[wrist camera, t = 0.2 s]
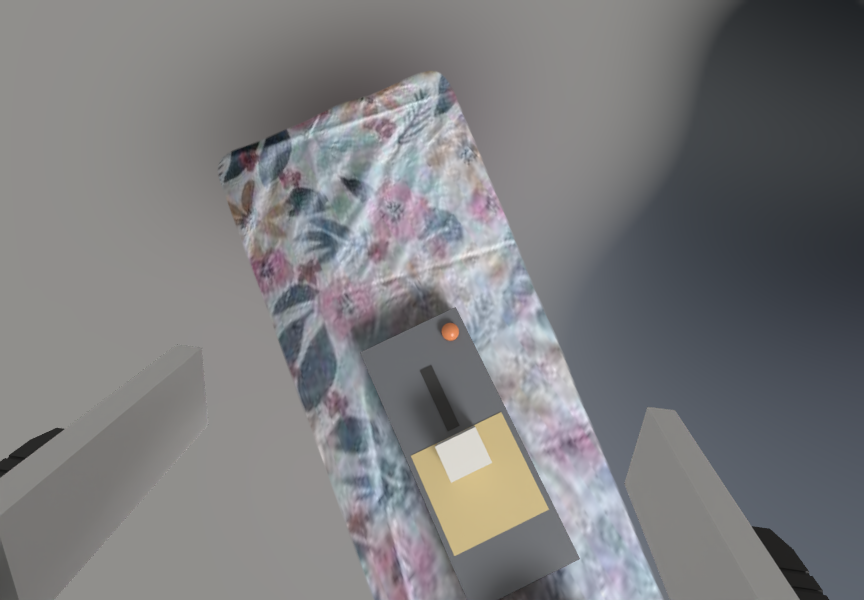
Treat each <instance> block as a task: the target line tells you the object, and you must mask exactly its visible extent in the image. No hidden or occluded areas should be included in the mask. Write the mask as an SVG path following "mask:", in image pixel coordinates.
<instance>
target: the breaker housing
mask: <svg viewBox="0 0 864 600" xmlns="http://www.w3.org/2000/svg"><path fill="white" fill-rule="evenodd" d="M360 354H361V356H362V358H363V361H364V363H365V365H366V367H367V370H368V372H369V374H370V377H371V379H372V381H373V384H374V386H375V388H376V391H377V393H378V395H379V398H380V400H381V402H382V404H383V407H384V409H385V411H386V414H387V416H388V418H389V421H390V423H391V425H392V428H393V430H394V432H395V434H396V437H397V439H398V441H399V444H400V446H401V448H402V451H403V453H404V455H405V458H406V460H407V462H408V464H409V467H410V469H411V471H412V474H413V476H414V478H415V481H416V483H417V485H418V488H419V490H420V492H421V494H422V497H423V499H424V501H425V504H426V506H427V508H428V511H429V513H430V515H431V518H432V520H433V522H434V524H435V527H436V529H437V531H438V534H439V536H440V538H441V541H442V543H443V545H444V548H445V550H446V552H447V555H448V557H449V559H450V561H451V564H452V566H453V568H454V571H455V573H456V575H457V578H458V580H459V582H460V585H461V587H462V589H463V591H464V594H465V596H466V598H467V600H499V599H501V598H503V597H505V596H507V595H509V594H511V593H513V592H515V591H517V590H519V589H521V588H523V587H525V586H527V585H529V584H531V583H533V582H535V581H537V580H539V579H541V578H543V577H545V576H547V575H549V574H551V573H553V572H555V571H557V570H559V569H561V568H563V567H565V566H567V565H569V564H571V563H573V562H575V561H577V560H579V559H580V558H579V556H578V554H577V552H576V550H575V548H574V546H573V544H572V542H571V540H570V538H569V536H568V534H567V532H566V530H565V528H564V526H563V524H562V522H561V520H560V518H559V516H558V514H557V512H556V509H555V507H554V505H553V503H552V501H551V499H550V497H549V495H548V493H547V491H546V489H545V487H544V485H543V483H542V481H541V479H540V477H539V475H538V473H537V471H536V469H535V467H534V465H533V463H532V461H531V459H530V457H529V455H528V453H527V451H526V449H525V447H524V445H523V443H522V441H521V439H520V437H519V435H518V433H517V431H516V428H515V426H514V424H513V422H512V420H511V418H510V416H509V414H508V412H507V410H506V408H505V406H504V404H503V402H502V400H501V398H500V396H499V394H498V392H497V390H496V388H495V386H494V384H493V382H492V380H491V378H490V376H489V374H488V372H487V370H486V368H485V366H484V364H483V362H482V360H481V358H480V356H479V354H478V352H477V350H476V348H475V345H474V343H473V341H472V339H471V337H470V335H469V333H468V331H467V329H466V327H465V325H464V323H463V321H462V319H461V317H460V315H459V313H458V311H457V309H456V307H455V308H453V309H451V310H448V311H446V312H444V313H442V314H440V315H438V316H436V317H434V318H432V319H430V320H427V321H425V322H423V323H421V324H419V325H417V326H415V327H413V328H411V329H408V330H406V331H404V332H402V333H400V334H398V335H396V336H394V337H392V338H389V339H387V340H385V341H383V342H381V343H379V344H377V345H375V346H373V347H371V348H368V349H366V350H364V351H362V352H360ZM472 426H475V427H476V429H477V431H478V434H479V436H480V438H481V440H482V442H483V444H484V446H485V448H486V450H487V453H488V455H489V457H490V459H491V461H492V463H491V464H489V465H487V466H485V467H482V468H480V469H478V470H476V471H474V472H472V473H470V474H468V475H466V476H464V477H462V478H460V479H458V480H456V481H454V482H452V483H451V482H450V479H449V477H448V475H447V473H446V470H445V468H444V466H443V464H442V462H441V459H440V457H439V455H438V453H437V450H436V448H435V446H436V445H437V443H439V442H441V441H443V440H445V439H447V438H449V437H451V436H453V435H455V434H457V433H459V432H462V431H464V430H466V429H468V428H470V427H472Z"/></svg>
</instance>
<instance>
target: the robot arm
mask: <svg viewBox="0 0 864 600" xmlns="http://www.w3.org/2000/svg"><path fill="white" fill-rule="evenodd" d="M207 426H208V417H207V406H206V393H205V381H204V370H203V358H202V348H200V347H193V346H185V345H178V344H177V345H176V346H174V347H173V348H172V349H170V350H169V351H168V352H166V353H165V354H164V355H163V356H161V357H160V358H159V359H157V360H156V361H154V362H153V363H152V364H150V365H149V366H148V367H146V368H145V369H144V370H143V371H141V372H140V373H138V374H137V375H136V376H134V377H133V378H132V379H131V380H129V381H128V382H127V383H125V384H124V385H123V386H121V387H120V388H119V389H117V390H116V391H115V392H113V393H112V394H111V395H109V396H108V397H107V398H106V399H104V400H103V401H101V402H100V403H99V404H97V405H96V406H95V407H93V408H92V409H91V410H90V411H88V412H87V413H86V414H84V415H83V416H81V417H80V418H79V419H78V420H76V421H75V422H74V423H72V424H71V425H70V426H68V427H67V428H66V429H61V428H55V429H53V430H51V431H49V432H46V433H44V434H42V435H40V436H38V437H36V438H33V439H31V440H29V441H28V442H27V443H25V444H24V445H23V446H21V447H20V448H18V449H17V450H16V451H14V452H13V453H11V454H10V455H9V457H8V459H6V458H5V459H3V460H2V461H0V600H54V599H55V598H56V597H57V596H58V595H59V594H60V593H61V591H62V590H63V589H64V588H65V587H66V585H68V583H69V582H70V581H71V580H72V579H73V578H74V577H75V575H76V574H77V573H78V572H79V571H80V570H81V569H82V567H83V566H84V565H85V564H86V563H87V562H88V561H89V560H90V559H91V557H92V556H93V555H94V554H95V553H96V552H97V551H98V549H99V548H100V547H101V546H102V545H103V544H104V542H105V541H106V540H107V539H108V538H109V537H110V536H111V535H112V533H113V532H114V531H115V530H116V529H117V528H118V527H119V526H120V524H121V523H122V522H123V521H124V520H125V519H126V518H127V516H128V515H129V514H130V513H131V512H132V511H133V510H134V509H135V507H136V506H137V505H138V504H139V503H140V502H141V501H142V499H143V498H144V497H145V496H146V495H147V494H148V492H149V491H150V490H151V489H152V488H153V487H154V486H155V484H156V483H157V482H158V481H159V480H160V479H161V478H162V477H163V476H164V474H165V473H166V472H167V471H168V470H169V469H170V468H171V466H172V465H173V464H174V463H175V462H176V461H177V459H178V458H179V457H180V456H181V455H182V454H183V453H184V452H185V451H186V449H187V448H188V447H189V446H190V445H191V444H192V443H193V441H194V440H195V439H196V438H197V437H198V436H199V435H200V433H201V432H202V431H203V430H204V429H205V428H206V427H207ZM624 484H625V486H626V489H627V491H628V494H629V497H630V499H631V502H632V504H633V507H634V509H635V512H636V514H637V517H638V520H639V522H640V525H641V527H642V530H643V532H644V535H645V537H646V540H647V543H648V545H649V548H650V550H651V553H652V555H653V558H654V560H655V563H656V565H657V568H658V571H659V573H660V576H661V578H662V581H663V583H664V586H665V588H666V591H667V594H668V596H669V599H670V600H829V599H828V597H827V596H826V595H823V590H822V589H821V588H820V586H819V585H818V583H817V582H816V581H815V579H814V578H813V576H810V575H809V571H808V569H807V568H806V567H805V565H804V564H803V563H802V561H801V560H800V559H799V557H798V556H797V554H796V553H795V551H794V550H793V549H792V548H791V547H789V545H787V544H786V543H785V542H784V541H783V540H782V539H781V538H780V537H778V536H777V535H776V534H775V533H774V532H773V531H772V530H770V529H767V528H760V527H753V526H751V525H750V523H749V522H748V521H747V519H746V517H745V516H744V514H743V513H742V511H741V510H740V508H739V507H738V505H737V504H736V502H735V501H734V499H733V498H732V496H731V495H730V493H729V492H728V490H727V489H726V487H725V486H724V484H723V483H722V481H721V480H720V478H719V476H718V475H717V474H716V472H715V470H714V469H713V467H712V466H711V464H710V463H709V461H708V460H707V458H706V457H705V455H704V454H703V452H702V451H701V449H700V448H699V446H698V445H697V443H696V442H695V440H694V439H693V437H692V436H691V434H690V433H689V431H688V430H687V428H686V427H685V425H684V424H683V422H682V420H681V419H680V417H679V416H678V415H677V413H676V411H675V410H667V409H660V408H651V407H648V408H647V411H646V414H645V417H644V420H643V424H642V427H641V431H640V434H639V437H638V440H637V444H636V447H635V450H634V454H633V457H632V460H631V464H630V467H629V470H628V474H627V477H626V480H625V483H624Z"/></svg>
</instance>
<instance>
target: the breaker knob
mask: <svg viewBox="0 0 864 600" xmlns="http://www.w3.org/2000/svg"><path fill="white" fill-rule="evenodd" d="M435 448H436V450H437V453H438V455H439V457H440V459H441V462H442V464H443V466H444V468H445V470H446V473H447V475H448V477H449V479H450V482H451V483H452V482H454V481H456V480H458V479H460V478H462V477H464V476H466V475H468V474H470V473H472V472H474V471H476V470H478V469H480V468H482V467H485V466H487V465H489V464H491V463H492V461H491V459H490V457H489V455H488V453H487V450H486V448H485V446H484V444H483V442H482V440H481V438H480V436H479V434H478V431H477V429H476V427H475V426H472V427H470V428H468V429H466V430H464V431H462V432H459V433H457V434H455V435H453V436H451V437H449V438H447V439H445V440H443V441H441V442H439V443H437V445H436V446H435Z"/></svg>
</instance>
